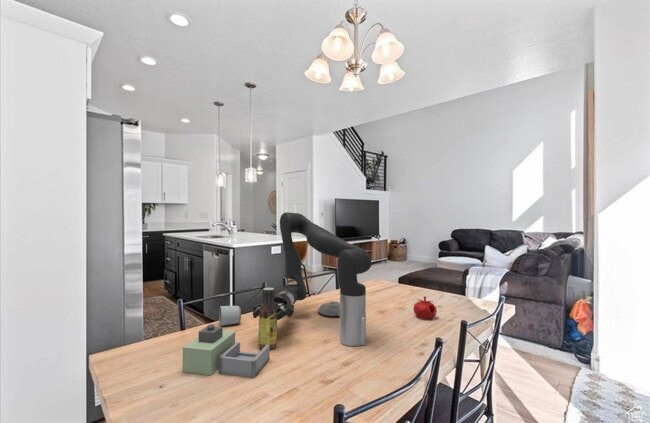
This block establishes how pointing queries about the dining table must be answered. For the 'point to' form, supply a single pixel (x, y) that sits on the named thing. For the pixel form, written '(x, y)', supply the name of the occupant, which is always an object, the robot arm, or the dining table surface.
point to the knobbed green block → (221, 355)
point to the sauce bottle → (268, 320)
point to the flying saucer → (330, 309)
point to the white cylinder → (229, 315)
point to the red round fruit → (425, 309)
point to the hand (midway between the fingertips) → (266, 316)
